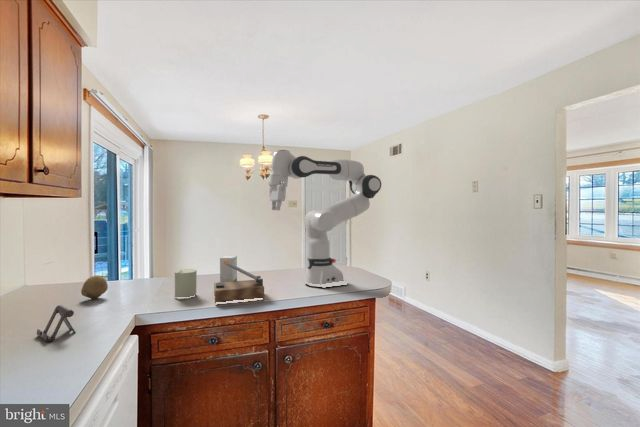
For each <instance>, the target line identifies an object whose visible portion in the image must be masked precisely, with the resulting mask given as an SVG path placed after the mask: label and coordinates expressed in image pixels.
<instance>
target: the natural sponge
mask: <svg viewBox="0 0 640 427" xmlns="http://www.w3.org/2000/svg"><path fill="white" fill-rule="evenodd" d="M108 287H109V286H108V282H107V280H106V278H104V277H103V276H101V275H93V276H92V275H91V276H90V277H89V278H87V279H86V280H85V281H84V283H83V285H82V287H81V290H80V293H81V296H83V297H85V298H88V299H92V300H96V299H98V298H100V297H101V296H102V295H104V294H105V293H106V292H107V290H108Z"/></svg>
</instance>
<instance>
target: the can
mask: <svg viewBox="0 0 640 427" xmlns="http://www.w3.org/2000/svg"><path fill="white" fill-rule="evenodd" d="M197 271H198V270H197V269H194V268H182V269H177V270H175V271H174V297H190V296H194V295H196V293H197Z"/></svg>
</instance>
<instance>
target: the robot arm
mask: <svg viewBox="0 0 640 427" xmlns="http://www.w3.org/2000/svg"><path fill="white" fill-rule="evenodd" d="M312 175H328V176H329V177H330V178H331V179H332V180H336V181H348V183H349V190H350V191H351V193H352V194H353V195H352V196H349V197H346V198H344V199H342V200H338V201H337V202H334V203H333V204H331V205H330V206H328V207H325V208H323V209H313V210H310V211H309V212H307V213H306V215H305V216H304V223H305V228H306V235H307V242H308V243H307V244H308V248H307V251H308V253H307V254H308V256H307V258H306V259H307V262H306V266H307V271H306V272H307V273H306V278H305V282H308V283H312V284H320V285H321V284H326V283H332V282H339V281H344V280H345V279H344V274H343V272H342V271H341V270H340V269H339V268H338V267H336V266H335V265H334V264H335V263H336V262H337V260H336V258H332V257H330V241H329V237H328V234H327V232H330V231H332V230H333V229H334V228H336V227H337V226H339V225H340V224H343V222H346V221H348V220H351V219H353V218H356V217H358V216H360V215H361V214H363V213H364V212H366V211H367V210H368V209H369V208H370V204H371V203H370V199H373V198H375V196H376V195H377V194H378V193H379V192H380V190H381V189H382V180H381V179H380V178H379V177H378V176H377V175H374V174H365V167H364V165H363V164H362V163H361V162H360V161H356V160H350V159H335V160H331V161H327V160H326V161H323V160H315V159H312V158H310V157H308V156H305V155H300V156H297V157H296V156H295V155H293V154H292V153H291V152H290V150H286V149H279V150H277V151H274V153H273V155H272V161H271V173H270V176H269V183H268V186H269V196H268V197H269V202H271V210H272V211H281V207H282V202H285V200H286V194H287V193H286V192H287V187H288V185H289V184H288V183H289V178H291V179H292V178H293V179H294V180H295V179H302V178H306V177H307V178H308V177H310V176H312Z"/></svg>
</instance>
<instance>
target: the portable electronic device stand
mask: <svg viewBox="0 0 640 427" xmlns="http://www.w3.org/2000/svg"><path fill="white" fill-rule="evenodd" d="M57 314H59V316H60V319H59V320H58V322H57V324H56V327H55V329H54V331H53V332H52V335H49V334H48V332H49V331H50V330H49V329H50V328H51V326H52V324H53V321H54V320H55V317H56V315H57ZM74 314H75V312H74V310H72V309H70V308H68V307H67V306H64V305H63V304H59V305H56V307H55V308H54V311H53V312H52V315H51V317H50V318H49V320H48V322H47V324H46V326H45V327H44V328H45V329H43V331H42V330H40V329H39V328H38V329H36V335H37V336H38V337H39V338H41V339H42V341H45V342H46V343H48V344H50V343H52V342H54V340H55V339H56V337H57V334H58V332H59V330H60V328H61V326H62V324H63V322H64V324H65V326H66V327H67V329H68V330H69V331H70V332H72V333H73V334H76V331H75V329H74V328H73V326H72V324H71V322H70V321H69V319H68V318H71V317H73V316H74Z"/></svg>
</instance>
